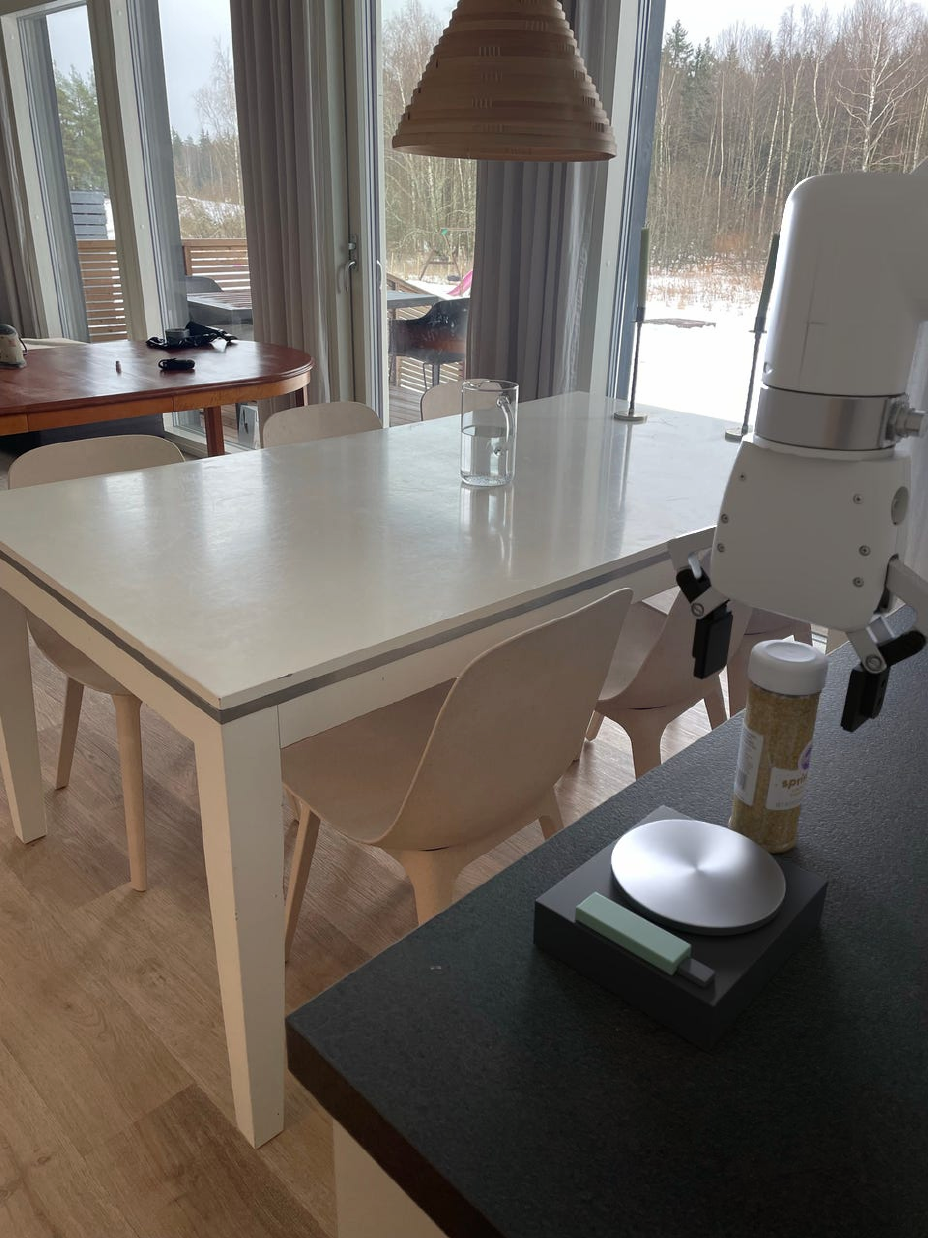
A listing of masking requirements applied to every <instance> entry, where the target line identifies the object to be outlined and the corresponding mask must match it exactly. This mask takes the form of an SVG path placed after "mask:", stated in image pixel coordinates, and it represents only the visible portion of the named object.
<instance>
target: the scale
mask: <svg viewBox="0 0 928 1238" xmlns="http://www.w3.org/2000/svg"><path fill="white" fill-rule="evenodd" d="M666 820H690V821H698V820H696V819H694V818H692V817H690V816H688V815H686V814H684V813H682V812H679V811H677V810H675V809H673V808H670V807H668V806H666V805H663V804H662V805H660V806H659V807H657V808H656V809H655V810H654V811H652V812H651V813H649V814H648V815H647V816H646V817H645V818H643V819H641V820H640V821H638V823H636V824H635V825H633V826H632V827H631V828H630V829H628V830H627V831H626V832H624V833H623V834H622V835H620V836H619V837H618V838H617V839H615V840H614V841H612V842H611V843H609V844H608V845H607V846H606V847H605V848H603V849H601V850H600V851H599V852H598V853H596V854H595V855H594V856H592V857H591V858H590V859H588V860H587V861H586V862H584V863H583V864H581V865H580V866H578V868H576V869H575V870H574V871H572V872H571V873H570V874H568V875H567V876H566V877H564V878H563V879H561V881H559V882H557V883H556V884H555V885H554V886H553V887H551V888H550V889H548V890H547V891H546V892H544V893H543V894H542V895H541V896H539V897H538V898H536V899H535V900H534V910H533V911H534V913H533V915H534V916H533V931H532V933H533V935H532V938H533V939H532V943H533V944H534V945H535V946H536V947H538V948H539V949H542V950H543V951H545V952H546V953H547V954H549V955H550V956H552V957H554V958H555V959H557V960H559V961H561V962H562V963H564V964H565V965H567V966H568V967H570V968H571V969H573V970H575V971H576V972H578V973H579V974H581V975H583V976H584V977H586V978H587V979H589V980H590V981H592V982H594V983H596V984H597V985H599V986H600V987H602V988H603V989H605V990H607V991H608V992H610V993H611V994H613V995H614V996H616V997H617V998H619V999H621V1000H622V1001H623V1002H625V1003H627V1004H628V1005H630V1006H632V1007H633V1008H635V1009H636V1010H638V1011H640V1012H641V1013H643V1014H644V1015H646V1016H648V1017H649V1018H651V1019H653V1021H656V1022H657V1023H659V1024H660V1025H662V1026H663V1027H665V1028H667V1029H669V1030H670V1031H672V1032H673V1033H675V1034H676V1035H677V1036H680V1037H681V1038H682V1039H684V1040H686V1041H687V1042H689V1043H691V1044H692V1045H694V1046H695V1047H697V1048H698V1049H699V1050H701V1051H703V1052H705V1053H708V1052H710V1050H712V1048H713V1047H714V1046H715V1045H716V1044H717V1042H718V1041H719V1040H720V1039H721V1038H722V1036H723V1035H724V1034H725V1033H726V1032H727V1031H728V1029H729V1028H730V1027H731V1026H732V1025H733V1024H734V1022H735V1021H736V1020H737V1019H738V1018H739V1017H740V1016H741V1014H742V1013H743V1012H744V1011H745V1010H746V1009H747V1008H748V1007H749V1005H750V1004H751V1003H752V1002H753V1001H754V999H756V997H757V996H758V995H759V994H760V993H761V992H762V990H763V989H764V988H765V987H766V985H767V984H768V983H769V982H770V981H771V980H772V979H773V978H774V977H775V975H776V974H777V973H778V972H779V971H780V970H781V968H782V967H783V966H784V965H785V963H787V961H788V960H789V959H790V958H791V957H792V956H793V954H795V952H796V951H797V950H798V949H799V948H800V947H801V945H802V944H803V943H804V942H805V941H806V939H807V938H808V937H809V936H810V935H811V934H812V933H813V931H814V930H815V929H816V928H817V927H818V926H819V925H820V923H821V922H822V916H823V912H824V905H825V902H826V901H825V900H826V895H827V891H828V885H829V880H828V879H826V878H824V877H822V876H819V875H817V874H815V873H813V872H810V871H808V870H806V869H803V868H801V867H800V866H797V865H795V864H793V863H791V862H789V861H787V860H784V859H782V858H780V857H778V856H775V855H774V854H772V853H769V854H770V855H771V856H772V857H773V858H774V860H775V861H776V862H777V864H778V865H779V867H780V868H781V870H782V873H783V875H784V879H785V883H786V891H785V897H784V901H783V905H782V907H781V909H780V911H779V912H778V913H777V915H776V916H775V917H774V918H773V919H772V920H771V921H769V922H768V923H766V924H765V925H763V926H762V927H759V928H757V929H755V930H752V931H749V932H745V933H741V934H735V935H724V936H712V935H701V934H694V933H689V932H684V931H680V930H677V929H673V928H670V927H668V926H665V925H663V924H660V923H658V922H656V921H654V920H652V919H650V918H648V917H647V916H645V915H643V914H642V913H640V912H639V911H637V910H636V909H635V908H634V907H632V906H631V905H630V904H629V903H628V902H627V901H626V900H625V899H624V898H623V897H622V895H621V894H620V893H619V891H618V890H617V888H616V886H615V884H614V882H613V879H612V876H611V857H612V853H613V850H614V848H615V846H616V844H617V843H618V842H619V840H620V839H621V838H622V837H623V836H624V835H626V834H627V833H628V832H630V831H632V830H633V829H635V828H638V827H640V826H643V825H646V824H649V823H653V822H658V821H666Z"/></svg>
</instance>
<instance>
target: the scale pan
mask: <svg viewBox="0 0 928 1238" xmlns="http://www.w3.org/2000/svg"><path fill="white" fill-rule="evenodd" d="M770 854H771V853H768V852H767V851H766V850H765V849H764V848H762V847H761V846H759V845H758V844H757V843H755V842H754V841H752V840H750V839H749V838H747V837H745V836H743V835H741V834H739V833H737V832H734V831H732V830H730V829H728V827H724V826H721V825H717V824H714V823H709V822H703V821H699V820H697V821H690V820H666V821H658V822H653V823H649V824H646V825H643V826H640V827H638V828H635V829H633V830H632V831H630V832H628V833H627V834H626V835H624V836H623V837H622V838H621V839H620V840H619V842H618V843H617V844H616V846H615V848H614V850H613V853H612V857H611V876H612V879H613V882H614V884H615V886H616V888H617V890H618V891H619V893H620V894H621V895H622V897H623V898H624V899H625V900H626V901H627V902H628V903H629V904H630V905H631V906H632V907H634V908H635V909H636V910H637V911H639V912H640V913H642V914H643V915H645V916H647V917H648V918H650V919H652V920H654V921H656V922H658V923H660V924H663V925H665V926H668V927H670V928H673V929H677V930H680V931H684V932H689V933H694V934H701V935H712V936H724V935H735V934H741V933H745V932H749V931H752V930H755V929H757V928H759V927H762V926H763V925H765V924H766V923H768V922H769V921H771V920H772V919H773V918H774V917H775V916H776V915H777V913H778V912H779V911H780V909H781V907H782V905H783V901H784V897H785V891H786V883H785V879H784V875H783V873H782V870H781V868H780V867H779V865H778V864H777V862H776V861H775V860H774V858H773V857H772V856H771V855H772V854H771V855H770Z"/></svg>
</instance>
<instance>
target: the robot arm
mask: <svg viewBox="0 0 928 1238" xmlns="http://www.w3.org/2000/svg"><path fill="white" fill-rule="evenodd" d="M780 229H781V230H780V237H779V245H778V251H777V258H776V266H775V271H774V272H775V273H774V280H773V288H772V295H771V303H770V309H769V317H768V325H767V331H766V337H765V338H766V339H765V345H764V352H763V359H762V367H761V375H760V382H759V386H758V394H757V401H756V407H755V415H754V422H753V430H752V432H751V433H748V434H746V435H744V436H743V437H742V439H741V441H740V444H739V446H738V447H737V450H736V453H735V457H734V459H733V462H732V465H731V468H730V471H729V474H728V478H727V480H726V484H725V488H724V491H723V494H722V497H721V498H722V499H721V503H720V507H719V511H718V516H717V519H716V524H715V525H711V526H709V527H705V528H702V529H697V530H695V531H691V532H688V533H685V534H681V535H678V536H676V537H673V538H671V539H669V540H668V541H667V543H666V546H667V551H668V554H669V557H670V559H671V563H672V566H673V570H675V572H676V575H675V582H676V584H677V586H678V587H679V589H680V591H681V592H682V594H683V595H684V597H685V598H686V600H687V602H688V603H689V607H688V608H689V609H688V610H689V613H690V615H691V616H692V617H693V618H694V619H695V626H694V633H693V642H692V650H691V656H692V659H694V666H693V673H692V674H693V677H694V678H696V679H699V680H704V679H708V678H709V677H710V676H712V675H714V674H716V673H718V672H719V671H721V670H723V669H724V668H725V667H726V665H727V663H728V656H729V650H730V643H731V636H732V630H733V629H732V628H733V621H734V615H733V610H732V609H728V605H729V604H730V603H731V602H736V603H739V604H742V605H745V606H748V607H751V608H755V609H757V610H758V609H759V610H762V611H766V612H769V613H772V614H776V615H779V616H783V617H785V618H789V619H794V620H797V621H800V622H804V623H807V624H810V625H814V626H818V627H821V628H825V629H829V630H833V631H836V632H841V633H844V634H845V635H846V637H847V639H848V640H849V642H850V644H851V646H852V648H853V650H854V651H855V653H856V656H857V657H858V658H859V660H860V663H858V664H857V665H855V666H854V667H852V668H851V671H850V674H849V679H848V683H847V689H846V694H845V698H844V702H843V703H844V704H843V708H842V713H841V717H840V723H839V726H840V727H841V728H842V730H843V731H845V732H848V733H851V734H853V733H854V732H855V731H856V730H858V729H859V728H860V727H862V725H864V724H865V723H866V722H867V721H868V720H869V719H871V720H875V719H876V718H877V717H878V716H879V714H880V713H881V711H882V708H883V706H884V701H885V696H886V693H887V687H888V682H889V677H890V673H891V669H892V666H895V665H897V664H899V663H900V662H902V661H905V660H906V659H909V658H911V657H913V656H914V655H917V654H918V653H920V652H921V651H923V650H924V649H925V648H926V647H927V646H928V581H927V580H925V579H924V578H923V577H922V576H920V575H919V574H917V572H915V571H914V570H913V569H911V568H910V567H909V566H908V565H907V564H905V557H906V551H907V550H906V549H907V543H908V542H907V541H908V532H909V523H910V511H911V510H910V509H911V496H912V495H911V494H912V491H911V490H912V464H911V463H912V462H911V460H912V459H911V454H910V453H909V452H908V451H906V450H902V449H898V448H896V444H899V443H901V440H902V439H908V438H909V437H913V438H923V437H924V436H925V435H926V434H927V430H928V411H922V410H916V408H915V407H910V402H909V400H910V395H911V394H909V393H907V389H908V384H909V378H910V376H911V375H910V374H911V370H912V365H913V360H914V354H915V350H916V345H917V339H918V334H919V330H920V325H921V324H923V323H925V322H928V155H927V156H925V158H923V160H921V162H919V163H918V164H917V165H916V166H915V167H914V168H913V169H912V170H911V171H910V172H909V173H907V172H891V171H889V172H887V171H847V172H845V171H844V172H829V173H822V174H817V175H813V176H810V177H807V178H805V179H803V180H802V181H799V183H798V184H796V185H795V187H794V188H793V189H792V191H790V193H789V196H788V198H787V200H786V203H785V206H784V211H783V217H782V222H781V228H780ZM707 549H711V554H710V561H709V563H710V564H709V575H708V574H707V572H706V571H705V569H704V568H703V567H702V566H701V565H700V559H699V552H700V551H704V550H707ZM898 599H899V600H900V601H901V602H903V603H904V604H905V605H907V607H909V608H910V609H911V610H913V612H914V613H915V614H916V616H917V617H916V620H915V622H914V623H913V624H912V626H911V627H910V628H909V629H907V630H905V631H903V632H901V633H900V634H898V635H896V634H895V632H894V630H893V628H892V627H891V624H890V623H889V621H888V620H887V618H886V616H885V615H886V614H890V612H892V611H893V610H894V609H895V607H896V604H897V601H898Z"/></svg>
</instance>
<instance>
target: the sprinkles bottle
mask: <svg viewBox="0 0 928 1238" xmlns="http://www.w3.org/2000/svg"><path fill="white" fill-rule="evenodd" d="M828 671H829V657H828V656H827V655H826V654H825V652H823V651H822V650H820V649H819V648H817V647H815V646H813V645H810V644H807V643H804V642H801V641H795V640H787V639H770V640H764V641H760V642H758V643H756V644H755V645H754V646H753V647H752V648H751V652H750V656H749V662H748V670H747V676H748V682H749V683H748V684H749V685H748V691H747V698H746V705H745V712H744V716H743V719H742V726H741V733H740V739H739V748H738V755H737V762H736V769H735V776H734V784H733V790H734V794H733V803H732V807H731V808H732V809H731V816H730V818H729V819H728V822H727V829H730V830H732V831H734V832H737V833H739V834H741V835H743V836H745V837H747V838H749V839H750V840H752V841H754V842H755V843H757V844H758V845H759V846H761V847H762V848H764V849H765V850H766V851H767V852H768V853H769V854H781V853H785V852H787V851H789V850H791V849H792V848H794V847H795V846H796V845H797V843H798V838H799V832H798V828H799V823H800V816H801V809H802V805H803V802H804V798H805V793H806V785H807V779H808V774H809V770H810V769H809V768H810V762H811V757H812V750H813V744H814V732H815V728H816V727H815V726H816V721H817V714H818V708H819V703H820V695H821V694H822V691H823V690H824V688H825V686H826V682H827V676H828Z"/></svg>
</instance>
